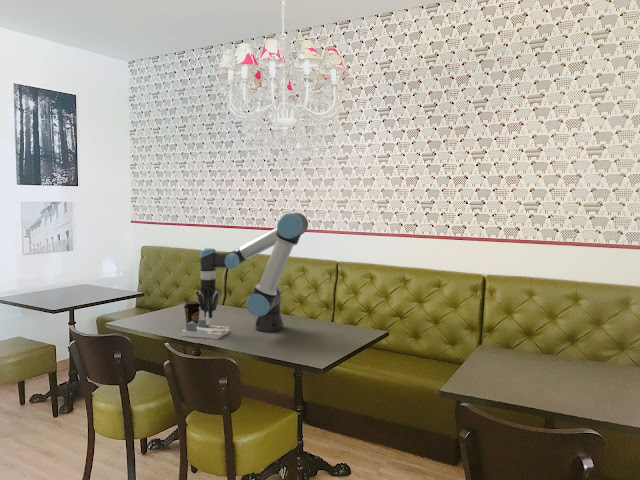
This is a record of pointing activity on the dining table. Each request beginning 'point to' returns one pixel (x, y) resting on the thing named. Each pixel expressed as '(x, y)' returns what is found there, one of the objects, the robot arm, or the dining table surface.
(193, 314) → the coffee cup
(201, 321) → the tab
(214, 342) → the dining table surface
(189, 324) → the tab
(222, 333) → the switch bank
